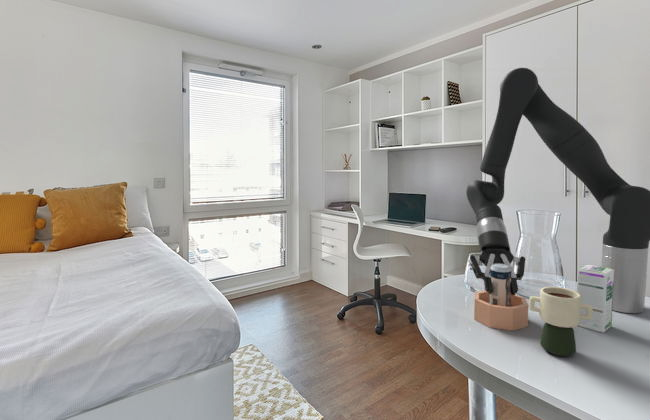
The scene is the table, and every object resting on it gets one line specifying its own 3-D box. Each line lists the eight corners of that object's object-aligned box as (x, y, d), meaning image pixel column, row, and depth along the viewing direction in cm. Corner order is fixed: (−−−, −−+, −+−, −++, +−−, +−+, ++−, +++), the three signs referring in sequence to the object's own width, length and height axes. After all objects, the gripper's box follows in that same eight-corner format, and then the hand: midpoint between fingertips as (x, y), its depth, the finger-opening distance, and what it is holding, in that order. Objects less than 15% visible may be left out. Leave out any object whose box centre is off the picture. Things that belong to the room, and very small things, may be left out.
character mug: (587, 349, 72) (591, 291, 71) (591, 366, 66) (595, 302, 65) (528, 337, 78) (530, 283, 77) (527, 351, 72) (529, 293, 71)
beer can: (512, 314, 85) (514, 268, 84) (492, 313, 86) (493, 268, 84) (506, 306, 90) (507, 263, 88) (487, 306, 91) (488, 262, 89)
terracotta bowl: (498, 306, 96) (498, 287, 95) (537, 324, 84) (538, 302, 84) (464, 314, 91) (464, 294, 91) (501, 333, 80) (502, 311, 80)
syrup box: (604, 333, 79) (608, 273, 77) (574, 324, 83) (577, 267, 82) (611, 326, 82) (615, 268, 80) (582, 318, 87) (585, 263, 85)
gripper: (466, 229, 94) (473, 285, 84) (524, 229, 91) (538, 288, 81) (463, 243, 100) (469, 297, 90) (517, 244, 96) (530, 301, 86)
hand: (502, 293), depth 85 cm, fingers closed on beer can, 4 cm apart
